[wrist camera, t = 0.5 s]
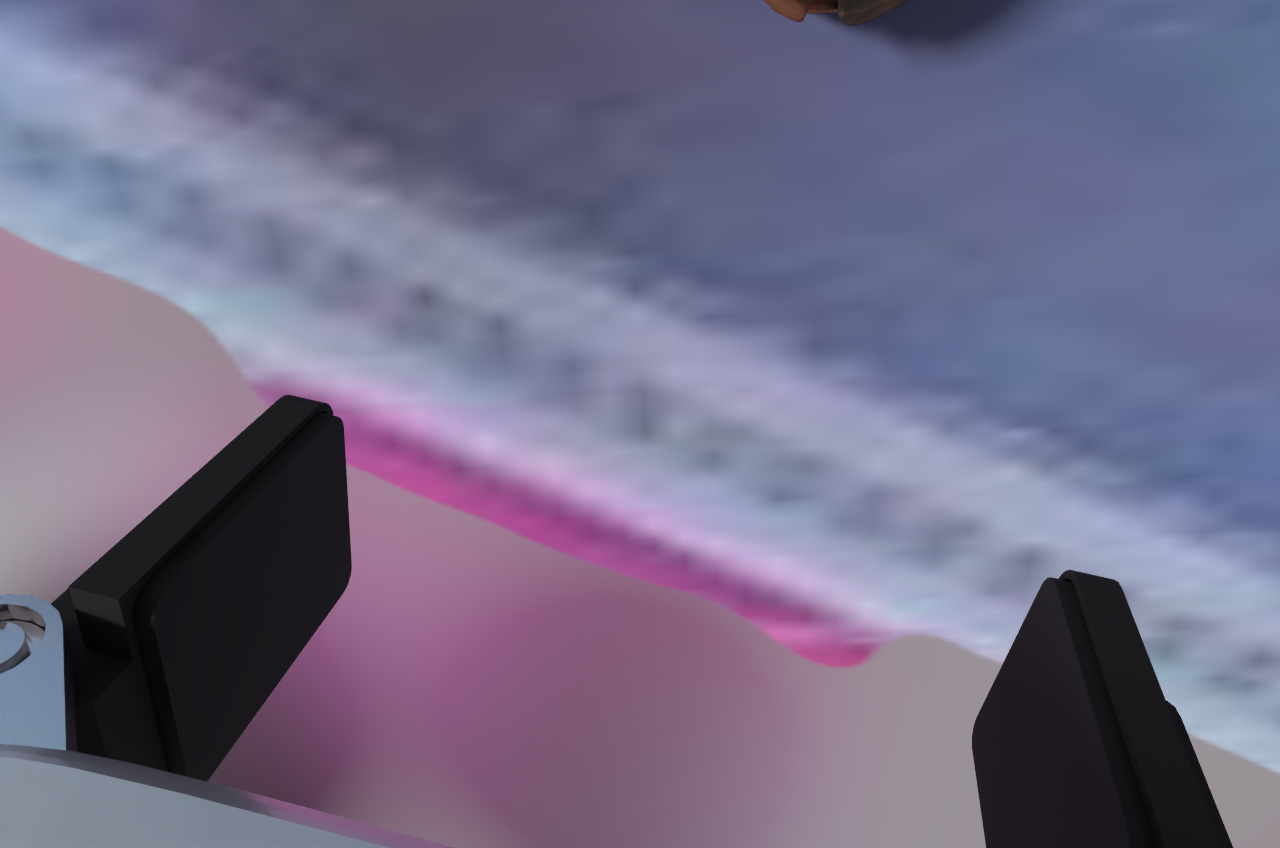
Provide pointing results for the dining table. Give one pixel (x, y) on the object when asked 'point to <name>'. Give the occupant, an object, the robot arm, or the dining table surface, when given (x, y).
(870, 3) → the dark brown domed piece
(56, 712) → the robot arm
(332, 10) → the dining table surface
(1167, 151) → the dining table surface
